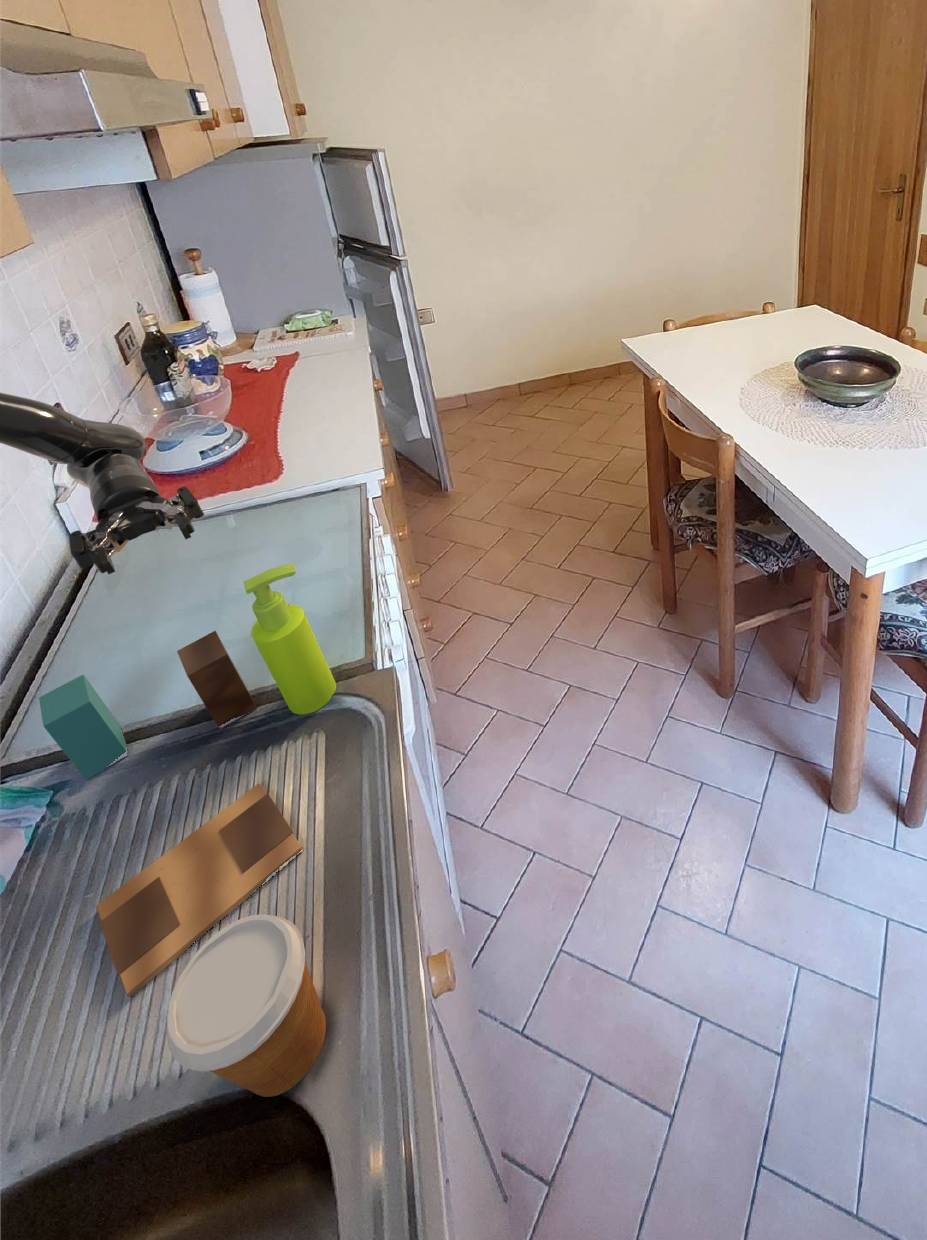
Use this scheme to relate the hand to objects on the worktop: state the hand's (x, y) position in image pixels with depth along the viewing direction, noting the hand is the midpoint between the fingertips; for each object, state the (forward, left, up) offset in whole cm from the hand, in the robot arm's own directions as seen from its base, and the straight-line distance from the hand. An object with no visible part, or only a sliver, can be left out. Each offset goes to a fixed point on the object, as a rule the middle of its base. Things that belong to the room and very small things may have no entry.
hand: (148, 549), depth 86 cm
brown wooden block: (-1, -11, -20) cm, 23 cm away
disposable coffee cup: (-11, -51, -20) cm, 56 cm away
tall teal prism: (-14, -5, -20) cm, 25 cm away
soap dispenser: (+7, -18, -20) cm, 28 cm away
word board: (-11, -31, -20) cm, 38 cm away
